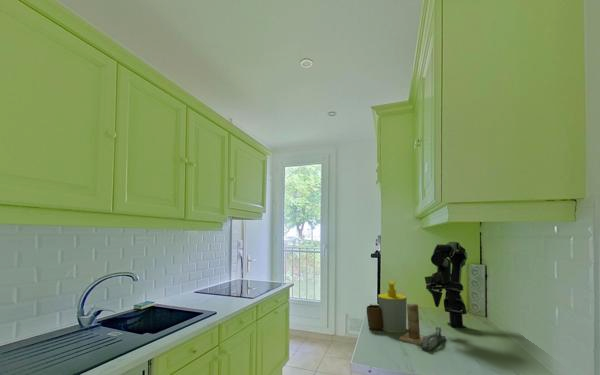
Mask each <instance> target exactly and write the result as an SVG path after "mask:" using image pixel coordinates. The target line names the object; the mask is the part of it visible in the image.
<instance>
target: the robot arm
mask: <svg viewBox="0 0 600 375" xmlns="http://www.w3.org/2000/svg"><path fill="white" fill-rule="evenodd" d="M433 249H434V250H433V253H432V255H431V257H430V262H431V263H432V264H433V265H434V266H435V267H436V268H437V269H436V272H434V273H432V275H430V276H429V275H428V276H424V281H425V285H426V286H425V288H426V290H427V292H429V293H430V295H431V296H432V300H433V302H434V306H435V307H436V308H439V306H440V303H441V301H442V296H443V292H442V291H443V290H445V296H444V298H443V308H444V312H445V313H448V316H449V317H448V318H449V322H447V323H446V324H447V325H448V326H450V327H452V328H467V325H465V324H464V321H463V320H464V319H463V315H467V307H466V304H465V301H464V299H463V297H462V295H461V293H462V292H463V291H464V286H463V284H462V269H463V267H465V265H466V262H467V260H468V254H467V253H468V252H467V250H466V249H465V248H464V247H463V246H462V245H461V244H460V242H459V241H458V242H457V241H450V242H447V243H446V244H441V243H440V244H436V246H435V247H434V248H433Z"/></svg>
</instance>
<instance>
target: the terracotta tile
mask: <svg viewBox="0 0 600 375" xmlns="http://www.w3.org/2000/svg"><path fill="white" fill-rule="evenodd" d="M424 336H425V335H421V334H420V338H419V339H412V338H409V332H406V333H405V334H403V335H401V336H400V337H399V341H402V342H406V343H411V344H413V345H414V344H415V345H419V346H423V338H422V337H424Z"/></svg>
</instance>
